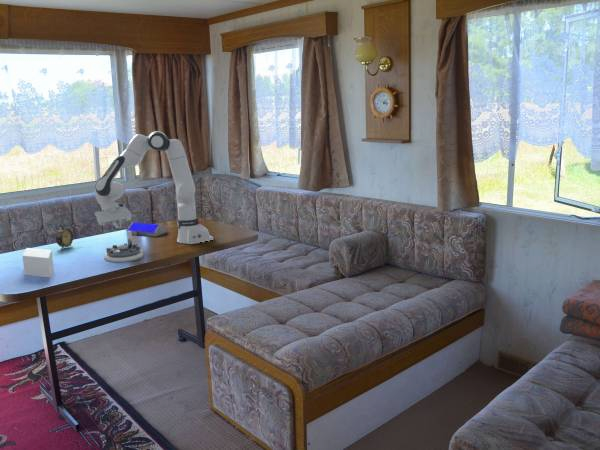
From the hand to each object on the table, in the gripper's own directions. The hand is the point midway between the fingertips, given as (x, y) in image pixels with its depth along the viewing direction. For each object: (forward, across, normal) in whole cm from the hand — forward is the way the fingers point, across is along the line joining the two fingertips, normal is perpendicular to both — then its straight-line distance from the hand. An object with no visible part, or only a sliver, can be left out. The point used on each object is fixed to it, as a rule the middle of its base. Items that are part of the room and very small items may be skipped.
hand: (119, 227), depth 320 cm
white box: (+16, -50, +4) cm, 53 cm away
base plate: (+21, -7, -2) cm, 22 cm away
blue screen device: (-8, +32, +28) cm, 43 cm away
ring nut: (+19, -7, -4) cm, 21 cm away
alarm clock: (-10, -22, +30) cm, 38 cm away
